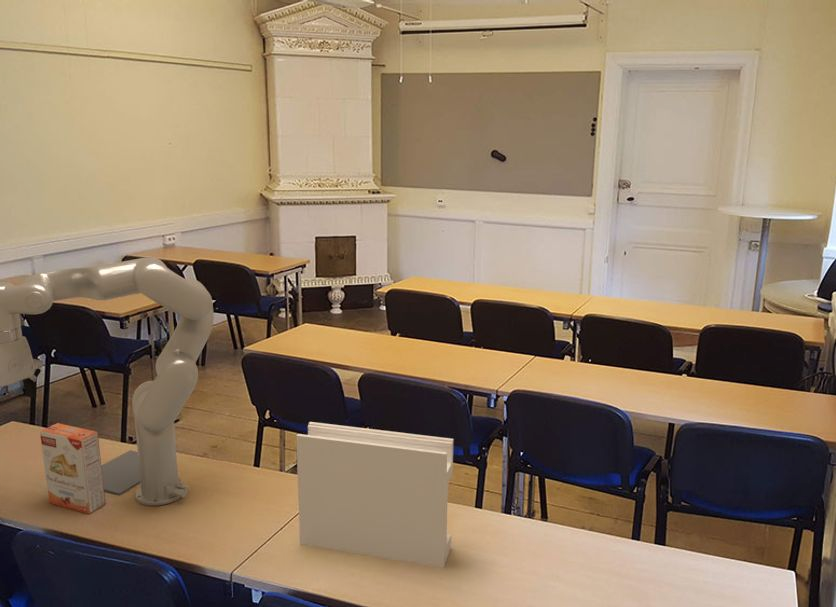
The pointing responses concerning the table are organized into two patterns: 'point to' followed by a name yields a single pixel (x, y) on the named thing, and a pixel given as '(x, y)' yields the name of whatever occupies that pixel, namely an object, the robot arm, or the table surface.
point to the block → (374, 492)
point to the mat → (121, 473)
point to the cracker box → (73, 467)
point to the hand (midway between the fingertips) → (12, 403)
